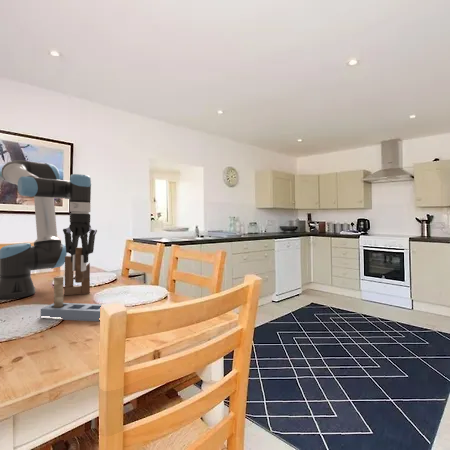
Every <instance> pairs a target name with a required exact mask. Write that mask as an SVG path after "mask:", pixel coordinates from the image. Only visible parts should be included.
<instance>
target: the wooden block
mask: <svg viewBox="0 0 450 450" xmlns="http://www.w3.org/2000/svg"><path fill="white" fill-rule="evenodd" d="M90 263H91V262H88V263H87V264H86V270H85V271H84V273H83V282H81V285H78V284H77V285H75V284H74V280H75V276H74V275H75V273H74V272H75V271H73V262H71V255H66V256H65V262H64V286H63V296H70V295H71V296H72V295H73V296H74V295H84V294H85V295H86V294H90V293H91V292H90V291H91V278H90V277H91V275H90V274H91V267H90V266H91V264H90Z"/></svg>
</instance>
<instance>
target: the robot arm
mask: <svg viewBox="0 0 450 450" xmlns="http://www.w3.org/2000/svg"><path fill="white" fill-rule="evenodd" d="M0 171H1V172H0V173H1V176H2V178H3V179H4V180H5V181H6V182H7V183H9V184H13V185H16V186H17V192H18V194H19V195H20V196H23V197H29V198H31V197H33V200H34V202H33V203H34V212H35V213H34V214H35V215H34V216H35V227H36V240H34V242H33V245H32V244H31V243H30V242H22V243H20V242H19V243H13V244H7V245H4V246H2V247H1V248H0V300H11V299H10V298H13V299H21V298H26V297H29V296H32V295H34V294H35V293H36V287H35V285H34V282H33V279H32V276H31V273H32V271H37V270H38V271H40V270H46V269H47V270H48V269H55V268H60V267H62V266H64V265H65V256H68V254H70V256H71V262H73V271H74V272H75V258H76V248H77V247H79V246H78V245H79V238H80V239H81V247H82V250H83V254H82V255H81V271H85V270H86V266H87V264H88V263H89V255H90V254H93V253H94V247H95V239H96V234H97V232H98V230H97V229H94V228H92V227H91V214H90V213H91V199H92V197H91V194H92V193H91V192H92V183H91V182H92V180H91V176H90V175H88V174H80V173H72V174H70V177H69V180H65V179H61V176H60V171H59V169H58V168H57V166H55V164H51V163H50V164H49V163H47V162H44V163H43V162H36V161H30V160H29V161H27V160H21V159H20V160H16V159H15V160H12V161H9V162H6V163H4V165H3V166H2V167H1V170H0ZM54 198H55V199H66V200H69V212H71V213H69V223H70V224H69V227H67V228H63V229H62V232H63V235H64V242H65V243H62V240H61V239H60V238H59V237H58V231H57V219H56V207H55V199H54ZM88 233H89V235H88Z"/></svg>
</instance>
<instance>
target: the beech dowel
mask: <svg viewBox="0 0 450 450" xmlns="http://www.w3.org/2000/svg"><path fill="white" fill-rule="evenodd" d="M53 303H54V308H62V307H63V303H64V276H55V277H53Z"/></svg>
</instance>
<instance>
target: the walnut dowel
mask: <svg viewBox="0 0 450 450" xmlns="http://www.w3.org/2000/svg"><path fill="white" fill-rule="evenodd" d="M82 254H83V250H82V246H81V247H80V246H77V248H76V258H75V271H74V272H75V273H74V275H75V276H74V277H75V279H74V282H75V283H76V284H78V283H79V284H80V283H81V282H83V273H84V271H81V255H82Z"/></svg>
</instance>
